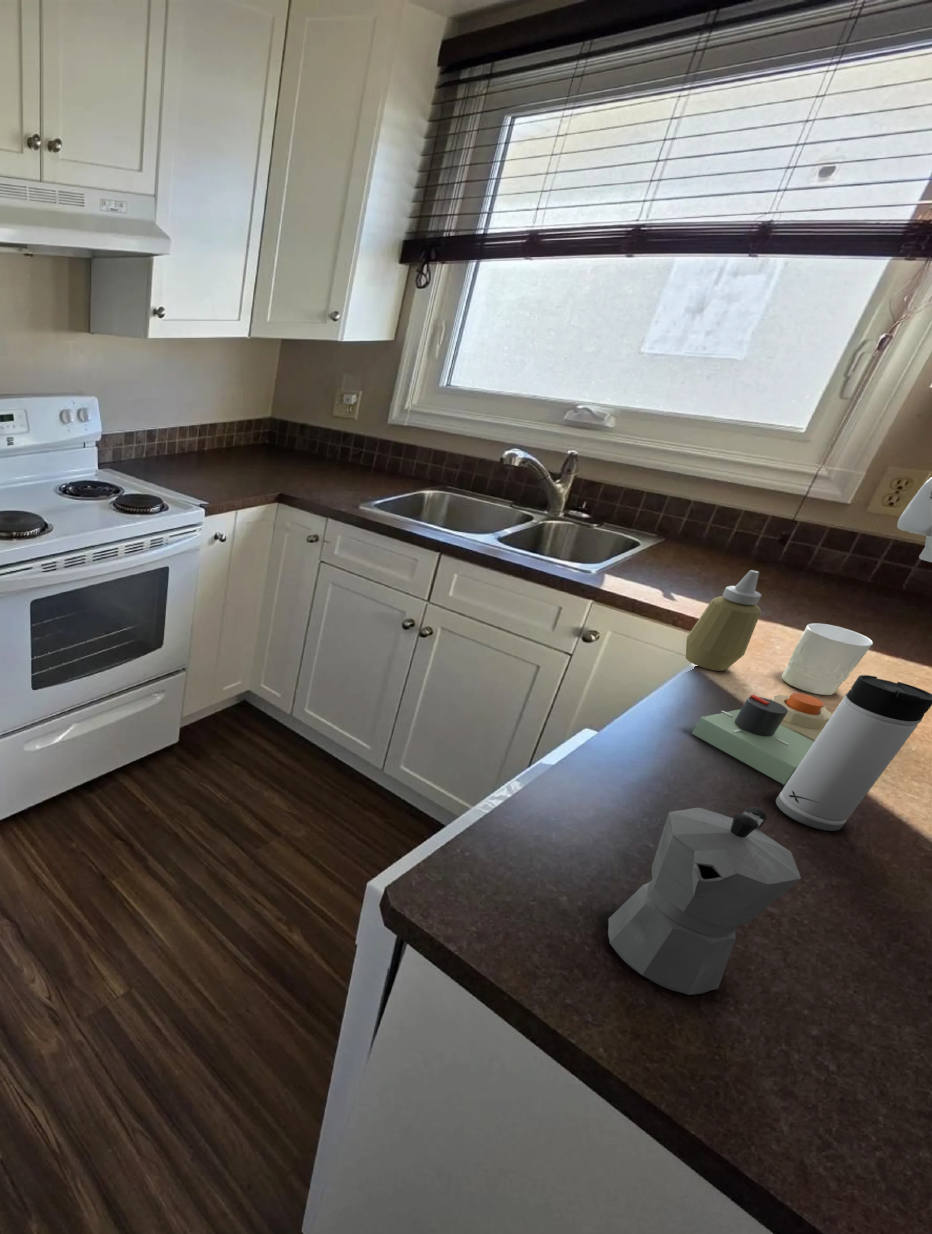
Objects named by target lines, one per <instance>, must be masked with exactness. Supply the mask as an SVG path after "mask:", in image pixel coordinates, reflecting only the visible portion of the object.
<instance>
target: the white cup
mask: <svg viewBox="0 0 932 1234" xmlns="http://www.w3.org/2000/svg"><path fill="white" fill-rule="evenodd" d="M873 644H874V642H873V640H872V639H871V638H869V637H868V636H866V635H864V634H861V633H859V632H857V631H855V630H851V629H849V628H845V627H841V626H837V625H834V624H827V623H820V622H819V623H818V622H815V623H808V624H807V625H806V626H805V629H804V630H803V633H802V634H801V636H800V638H799V640H798V642H797V643H796V646H795V648H794V650H793V651H792V655H791V656H790V657H789V660H788V663H787V665H786V667H785V669H784V671H783V672H782V675H781V678H782V681H784V682H785V683H787V684H788V685H789V686H792V687H794V688H796V689H798V690H800V691H804V692H807V693H810V694H814V695H819V696H820V695H821V696H832V695H834V694H835V693H836V692H837V691H838V689H839V688H840V687H841V686H842V684H843V683H844V682H845V681H847V680H848V679H847V678H849V676H850V675H851V674H852V673H853V671H855V669H856V667H857V666H858V664H859V663H860V662H861V661H862V659H863V658H864V656H865V655H866V654H867V653H868V651H869V650H870V648H872V646H873Z"/></svg>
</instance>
